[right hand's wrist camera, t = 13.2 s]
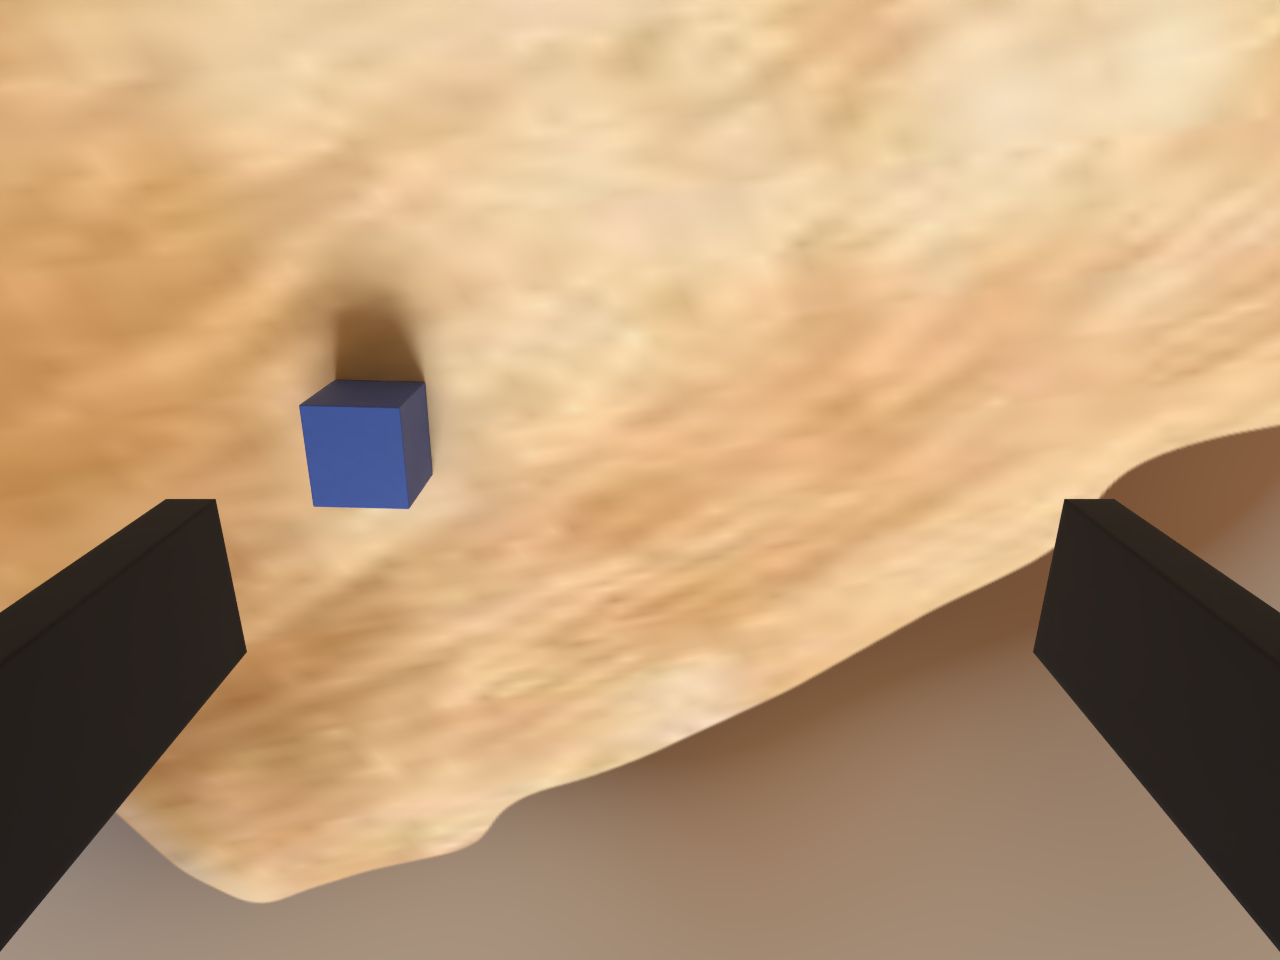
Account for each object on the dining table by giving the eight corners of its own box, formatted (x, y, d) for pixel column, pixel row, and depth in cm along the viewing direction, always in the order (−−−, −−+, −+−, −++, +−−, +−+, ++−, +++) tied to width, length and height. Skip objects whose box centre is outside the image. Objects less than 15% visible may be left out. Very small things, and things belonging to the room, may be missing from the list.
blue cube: (346, 472, 43) (313, 507, 39) (334, 379, 41) (298, 404, 37) (432, 474, 43) (409, 509, 39) (425, 381, 41) (399, 407, 37)
